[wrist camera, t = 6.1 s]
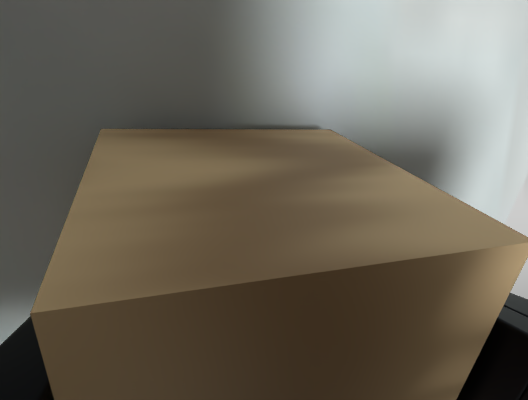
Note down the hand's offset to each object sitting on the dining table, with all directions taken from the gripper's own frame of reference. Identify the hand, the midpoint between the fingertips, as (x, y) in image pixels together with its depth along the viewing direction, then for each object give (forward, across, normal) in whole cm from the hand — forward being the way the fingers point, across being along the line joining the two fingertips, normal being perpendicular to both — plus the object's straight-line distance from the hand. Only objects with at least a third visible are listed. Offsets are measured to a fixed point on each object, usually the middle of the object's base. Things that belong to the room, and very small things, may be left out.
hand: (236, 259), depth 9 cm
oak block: (+2, 0, 0) cm, 2 cm away
